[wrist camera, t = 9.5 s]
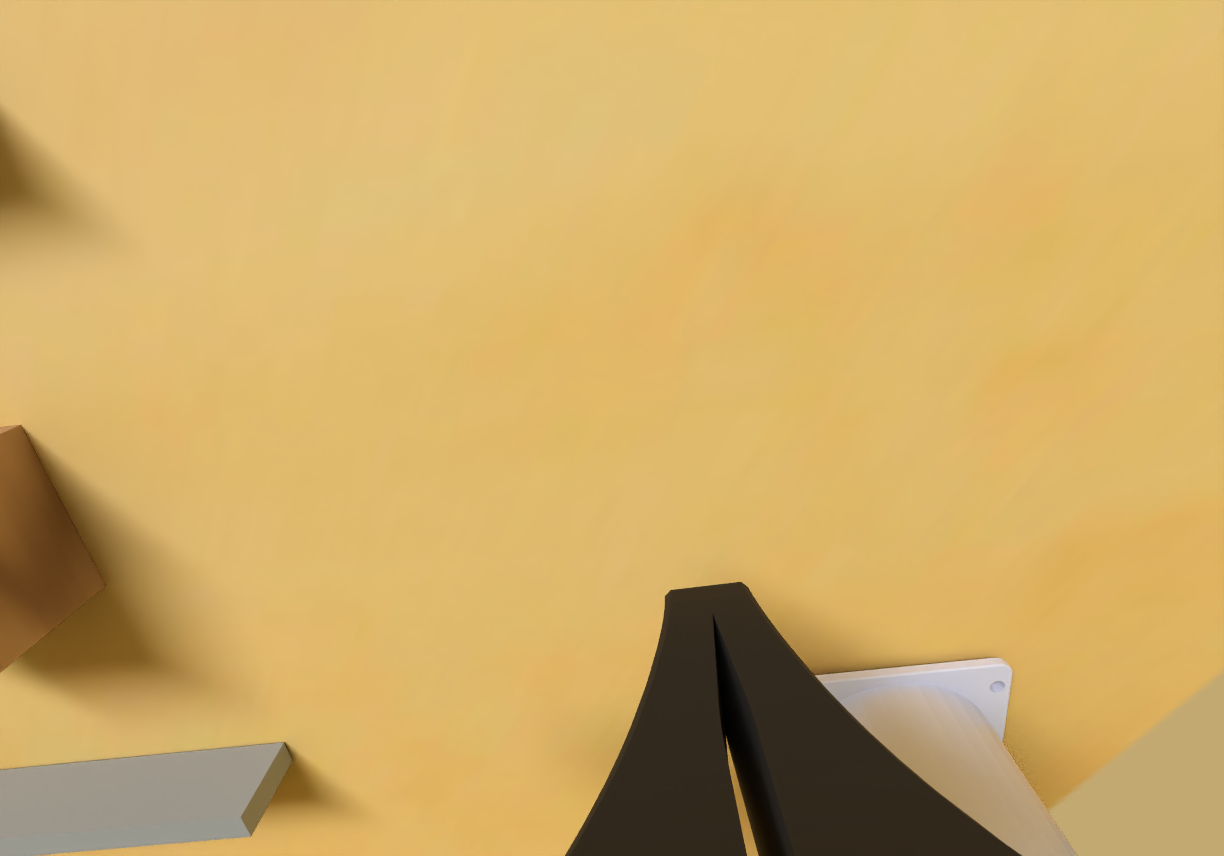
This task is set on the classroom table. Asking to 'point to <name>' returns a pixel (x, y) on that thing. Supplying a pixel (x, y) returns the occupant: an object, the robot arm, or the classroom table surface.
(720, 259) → the classroom table surface
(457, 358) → the classroom table surface
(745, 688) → the robot arm
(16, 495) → the walnut block
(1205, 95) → the classroom table surface
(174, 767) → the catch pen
